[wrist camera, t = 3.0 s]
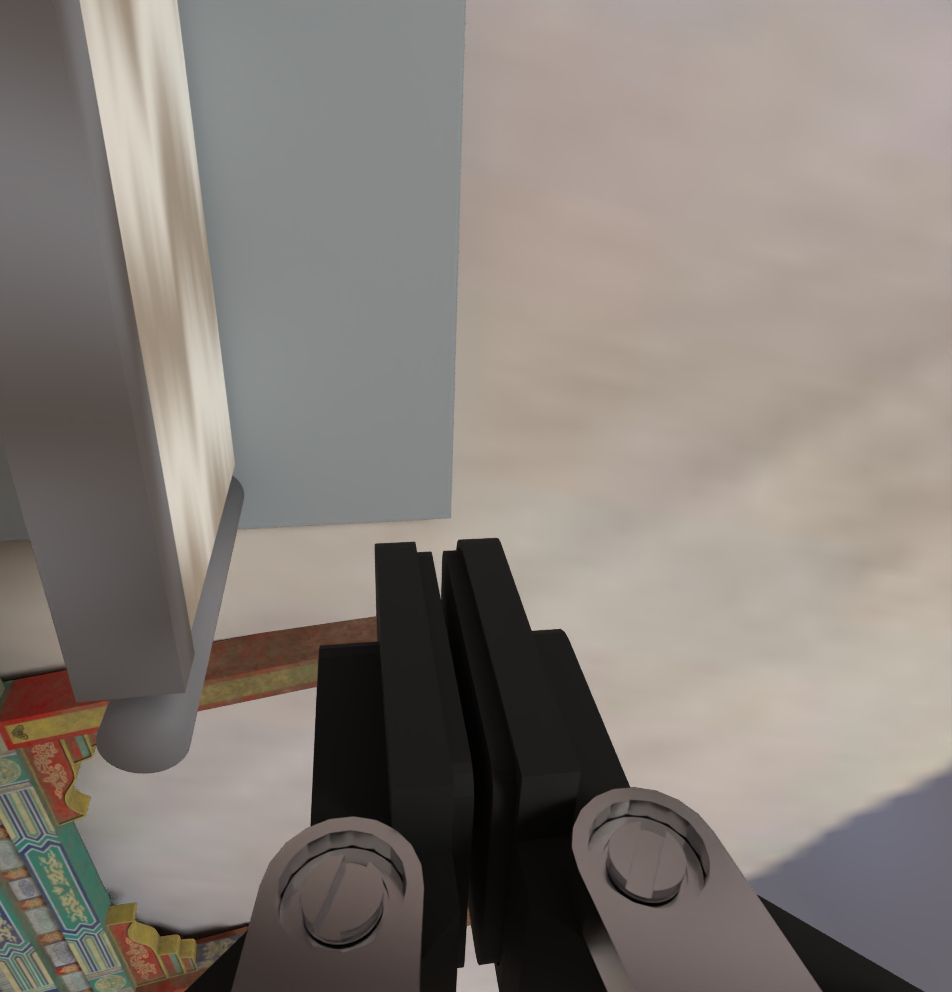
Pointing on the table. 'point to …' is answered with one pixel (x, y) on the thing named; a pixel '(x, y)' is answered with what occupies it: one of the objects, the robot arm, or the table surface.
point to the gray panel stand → (317, 282)
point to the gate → (109, 335)
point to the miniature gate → (56, 804)
